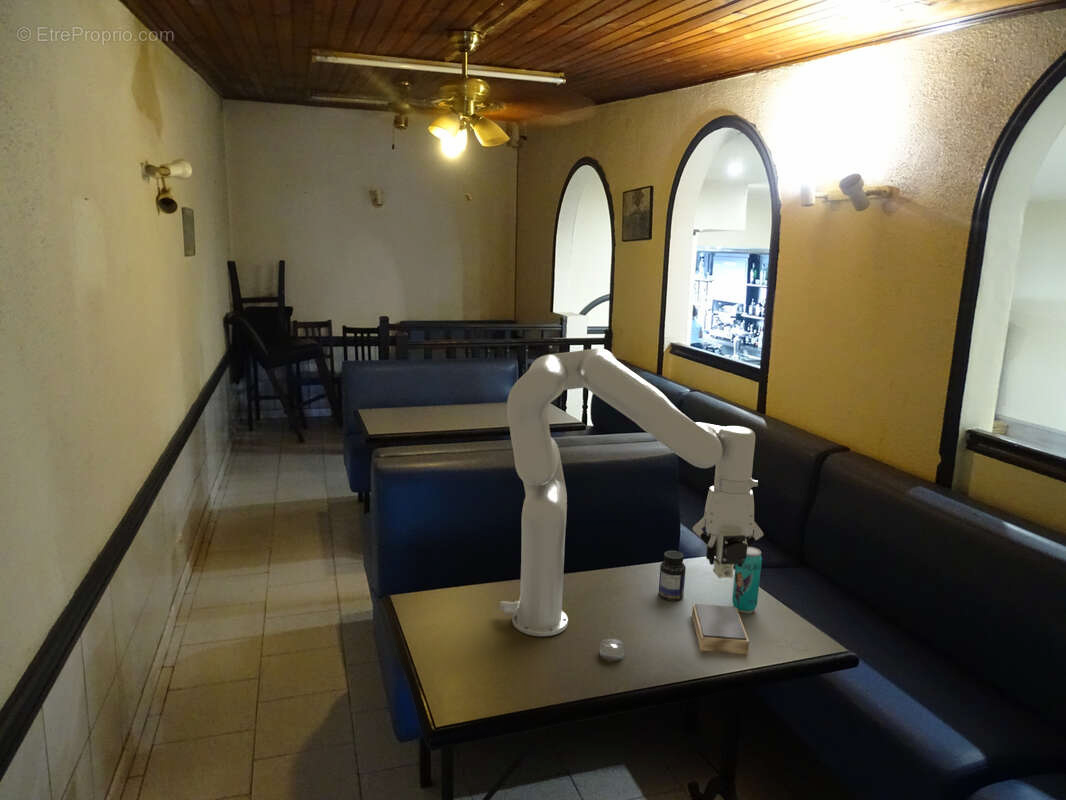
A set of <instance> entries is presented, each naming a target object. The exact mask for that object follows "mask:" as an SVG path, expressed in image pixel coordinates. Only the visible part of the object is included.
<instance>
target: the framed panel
mask: <svg viewBox="0 0 1066 800" xmlns="http://www.w3.org/2000/svg"><path fill="white" fill-rule="evenodd" d="M691 617H692V618H693V619H692V622H694V623H693V626H695V627H694V631H695V634H696V638H697V643H698V646H699V651H704V652H713V651H714V652H713V653H717V652H718V653H726V652H727V653H726V654H740V655H749V646H750V640H749V637H748V635H747V634H748V633H747V632H746V629H745V626H744V623H743V622H742V619H741V616H740V612H739V611H738V610H737V607H734V606H732V605H731V606H729V605H728V606H727V605H715V604H701V603H695V604H694V603H693V604H692V610H691Z"/></svg>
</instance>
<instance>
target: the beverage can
mask: <svg viewBox="0 0 1066 800" xmlns="http://www.w3.org/2000/svg"><path fill="white" fill-rule="evenodd" d="M762 560H763V557H762V551H761V550H760V549H759V548H757V547H753V546H749V547H748V549H747V556H746V559H745V561H744V562H743V564H742V567H739V566H738V565H737V564H735V566H734V567H735V569H734V576H733V578H734V579H733V588H732V589H733V590H732V598H731V601H732V606H733V607H737V610H738V613H741V612H742V613H741V614H752V613H753V612H754V611H755V609H756V608H757V606H758V599H759V589H760V580H761V571H762Z"/></svg>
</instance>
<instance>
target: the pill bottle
mask: <svg viewBox="0 0 1066 800" xmlns="http://www.w3.org/2000/svg"><path fill="white" fill-rule="evenodd" d="M663 554H664V555H663V559H664V560H663V561H661V562H660V563H661V564H660V566H659V582H658V595H659V597H660V598H661V599H663V600H666V601H669V600H670V601H671V602H677V601H680V600H682V599H683V597H684V593H685V582H686V581H685V580H686V565H685V563H683V561H684V554H683V552H680V551H678V550H667V551H665V552H664V553H663Z"/></svg>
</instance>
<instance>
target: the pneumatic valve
mask: <svg viewBox="0 0 1066 800" xmlns="http://www.w3.org/2000/svg"><path fill="white" fill-rule="evenodd" d="M706 534H707V535H708V533H707V532H706ZM745 538H746V537H745V536H744V535H743V534H742V533H737V532H735V533H734V532H720V531H719V534H718V535H717V538H716V540H715V542H714V547H715V557H714V564H713V568H712V572H713V574H715V575H716V577H717V578H718V579H723V578H724V579H726V578H730V579H732V578H734V567H735V565H736V564H743V559H746V556H747V546H748V545H747V544H746V543H745Z"/></svg>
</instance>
